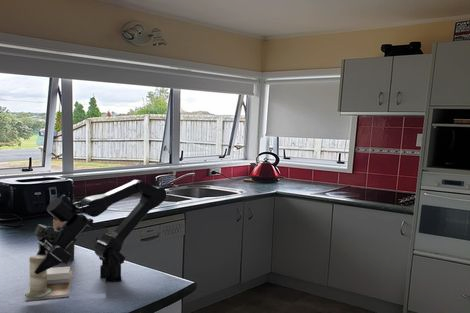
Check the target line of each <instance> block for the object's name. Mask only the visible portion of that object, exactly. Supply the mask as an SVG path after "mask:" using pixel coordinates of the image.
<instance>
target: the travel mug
mask: <svg viewBox="0 0 470 313" xmlns="http://www.w3.org/2000/svg"><path fill="white" fill-rule="evenodd" d="M65 222H66V221H64V222H60V221H59V220H57V219H56V218H55V217H54V216H52V227H53V228H54V229H56V228H57V227H58V226H60V227H62V226H63V225H64V223H65ZM75 243H76V241H75V242H74V241H72V242H71V244H70V245H69V246H68V247H67V248H66V249H67V252H68V253H69V254H70V255H71V260H70V262H69V263H71V262H73V261H74V260H75V245H76V244H75ZM62 262H63V261H62ZM62 264H65V263H64V262H63V263H62Z"/></svg>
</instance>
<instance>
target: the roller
mask: <svg viewBox="0 0 470 313" xmlns="http://www.w3.org/2000/svg"><path fill="white" fill-rule="evenodd" d="M44 258H45V255H37V254H35V255H32V256H31V255H30V257H29V289H30V294H32V295H39V294H43V293H45V292H47V270H45V271H43V272H41V273H39V274H36V273H35V270H36V269H37V267H38V266H39V265H40V263H41V262H42V260H43V259H44Z"/></svg>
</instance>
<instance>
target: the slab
mask: <svg viewBox="0 0 470 313" xmlns="http://www.w3.org/2000/svg"><path fill="white" fill-rule="evenodd" d="M70 270H71V266H59V267H51V268H49V269H47V285H52V284H64V283H69V280H70Z"/></svg>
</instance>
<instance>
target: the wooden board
mask: <svg viewBox="0 0 470 313" xmlns="http://www.w3.org/2000/svg"><path fill="white" fill-rule="evenodd" d="M73 274H74V269H70V280H69V283H64V284H52V285H47V292H45V293H43V294H39V295H32V294H30V288H29V289H28V290H26V291H25V296H26V297H25V299H28V300H25V303H29V302H31V303H32V302H42V301H50V300H52V301H53V300H63V299H70V296H66V295H70V289H71V284H72V279H73ZM53 296H54V297H53ZM57 296H58V297H57ZM44 297H46V298H44ZM33 298H36V299H33Z"/></svg>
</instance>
